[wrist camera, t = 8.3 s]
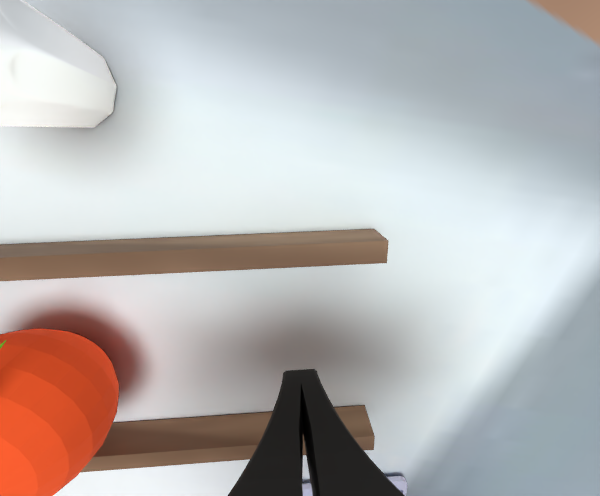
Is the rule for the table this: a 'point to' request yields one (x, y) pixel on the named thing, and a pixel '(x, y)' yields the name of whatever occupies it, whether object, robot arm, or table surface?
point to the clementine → (51, 408)
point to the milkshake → (49, 73)
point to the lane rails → (195, 258)
